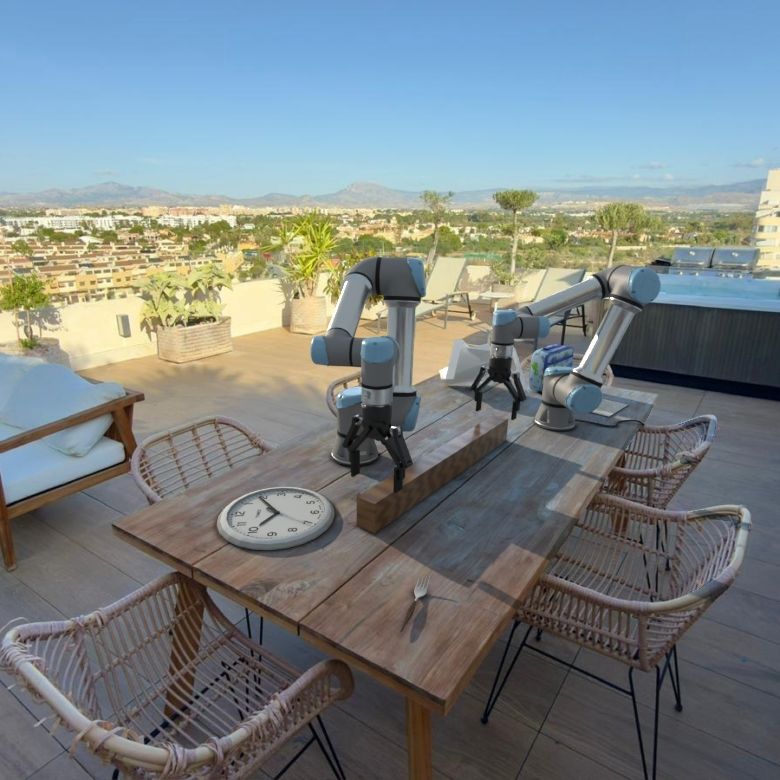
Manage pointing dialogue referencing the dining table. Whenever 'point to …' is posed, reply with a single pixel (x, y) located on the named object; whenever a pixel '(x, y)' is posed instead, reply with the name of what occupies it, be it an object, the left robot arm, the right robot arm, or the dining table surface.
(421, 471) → the post
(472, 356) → the white plastic object
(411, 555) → the dining table surface
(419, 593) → the fork
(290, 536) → the wall clock
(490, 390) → the dining table surface
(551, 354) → the lunch box
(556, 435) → the dining table surface
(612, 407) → the invitation card
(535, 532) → the dining table surface
